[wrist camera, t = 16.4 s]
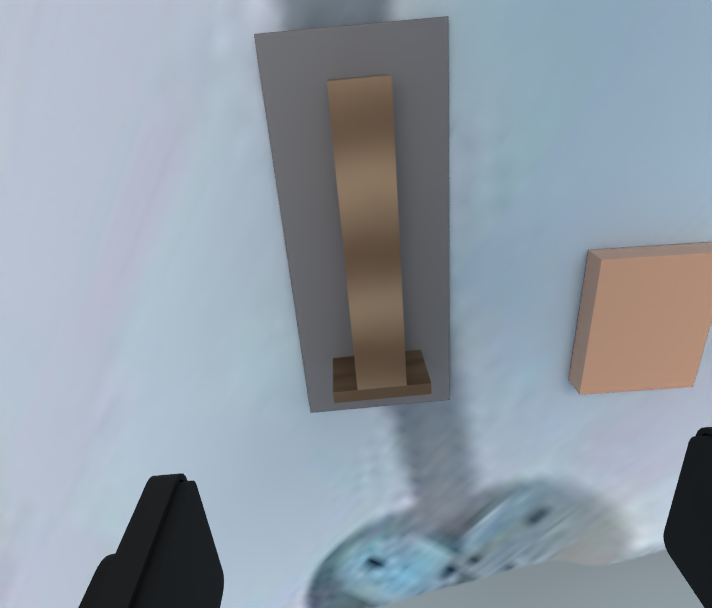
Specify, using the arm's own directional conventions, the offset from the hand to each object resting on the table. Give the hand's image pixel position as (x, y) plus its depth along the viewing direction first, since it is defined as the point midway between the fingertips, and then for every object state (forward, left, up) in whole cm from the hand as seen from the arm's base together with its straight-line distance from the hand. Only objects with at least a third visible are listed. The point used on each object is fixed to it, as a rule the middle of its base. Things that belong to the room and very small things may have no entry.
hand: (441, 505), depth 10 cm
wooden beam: (+2, 0, -22) cm, 22 cm away
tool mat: (+2, 0, -23) cm, 23 cm away
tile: (+4, +18, -22) cm, 29 cm away
